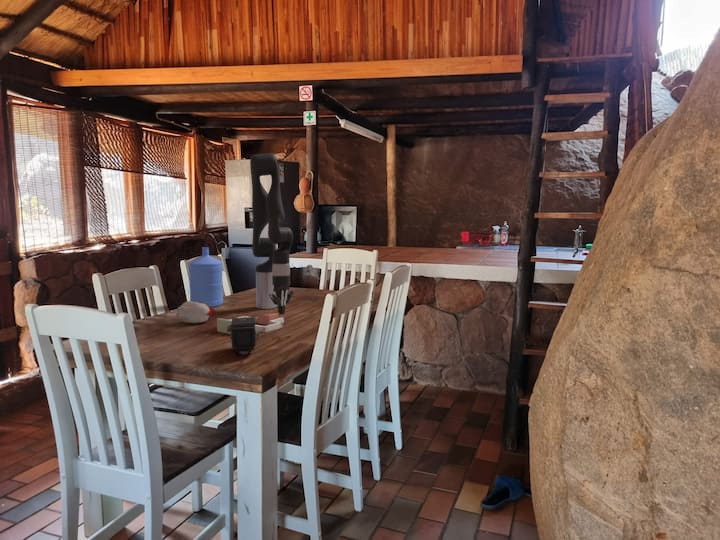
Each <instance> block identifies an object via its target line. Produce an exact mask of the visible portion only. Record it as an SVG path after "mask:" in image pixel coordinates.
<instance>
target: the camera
mask: <svg viewBox="0 0 720 540" xmlns="http://www.w3.org/2000/svg"><path fill="white" fill-rule="evenodd" d="M254 318H255V317H254V316H248V317H247V318H238V317H235V318H234V317H232V318H231V319H232V323H231V324H229V325H228V324H227V332H230V334H229V336H230V340H231V348H232V351H233V352H238V353H239V355H247V354H249V351H254V350H255V347H256V342H257V340H259V339H260V335H261V334H260V331H256V329H255V325H256V323H255V319H254Z"/></svg>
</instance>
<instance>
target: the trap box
mask: <svg viewBox="0 0 720 540" xmlns="http://www.w3.org/2000/svg"><path fill="white" fill-rule="evenodd" d="M247 317H249V316H247V315H246V316H245V315H243V316H238V317H237V318H247ZM254 319H255V329H256V331H259V333H260V332H262V333H267V332H272V331H276V330H280V329H282V328H284V323H285V318H284V317H278V319H274V320H270V321H268V325H260V324H259V325H258V316H255V317H254ZM231 323H232V318H230V319H226V318H220V317H218V318H216V325H217V326H216V327H217V328H216V329H217V330H216V331H217V332H219V333H224V334H229V335H230V332H227V324H228V325H229V324H231Z"/></svg>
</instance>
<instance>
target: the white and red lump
mask: <svg viewBox="0 0 720 540" xmlns="http://www.w3.org/2000/svg"><path fill="white" fill-rule="evenodd" d="M175 311H176V313H175V314H176V316H177V318H179V319H181V320H182V322H184V323H185V324H201V323H203V324H204V323H207V322H208V320H209V318H210V316H211V317H212V316H214V315H215V313H216V309H215V308H213V307H209V306H208V305H207V304H204V303H202V302H192V301H190V300H188V301H185V302H183V303H182V304H181V306H180V305H179V306H178V307H177V308H176V310H175Z"/></svg>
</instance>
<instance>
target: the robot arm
mask: <svg viewBox="0 0 720 540" xmlns="http://www.w3.org/2000/svg"><path fill="white" fill-rule="evenodd" d="M277 159H278V158H277V156H276V155H275V154H274V153H273V152H267V153H256V154H252V155H251V156H250V161H249V166H250V177H251V191H252V194H251V210H252V211H251V213H252V214H251V215H252V241H251V242H252V243H251V244H252V245H251V250H252V254H253V257H255V258H267V260H266V261H265V262H263V263H260V264H259V263H258V264H257V265H256V266H255V290H256V291H255V297H256V299H255V301H256V303H255V304H256V309H261V310H268V309H275V308H276V307H277V313H278V315H285V313H286V305H287V304H289V303H290V300H291V299H292V296H293V295H294V291H293V290H290V285H291V266H290V253H291V248H292V245H293V241H294V234H293V230H292V229H291V228H290V227H288V226H280V223H282V222H283V221H284V220H285V219H286V214H285V209H284V205H283V201H282V194H281V184H280V183H281V181H280V171H279V164H278V163H279V162H278V160H277ZM265 176H270V177H271V183H270V188H269V191H268V192H267V190H266V189H265V188H264V186H263V184H262V182H261V177H265ZM267 226H268V229H267V237H261V235H262V233H263V231H264V229H265V228H266V227H267ZM277 245H279V246H278V248H277Z"/></svg>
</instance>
